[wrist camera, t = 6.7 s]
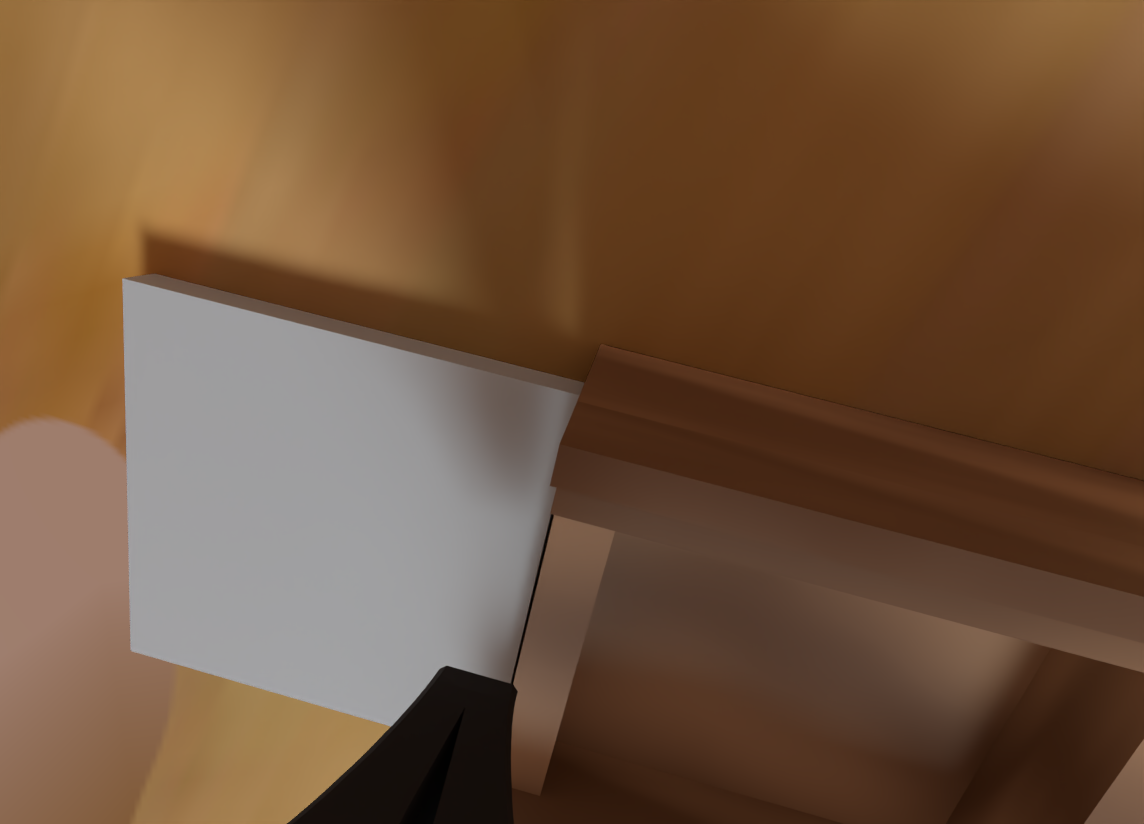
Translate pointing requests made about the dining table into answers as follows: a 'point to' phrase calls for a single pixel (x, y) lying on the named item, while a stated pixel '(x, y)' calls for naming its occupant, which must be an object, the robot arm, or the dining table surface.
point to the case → (823, 619)
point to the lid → (328, 498)
